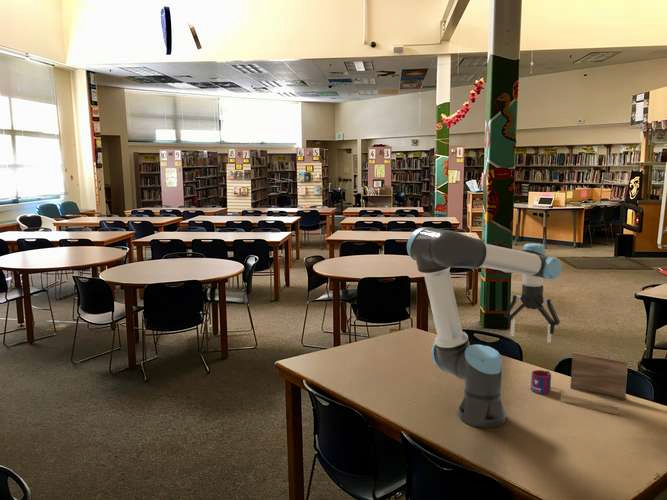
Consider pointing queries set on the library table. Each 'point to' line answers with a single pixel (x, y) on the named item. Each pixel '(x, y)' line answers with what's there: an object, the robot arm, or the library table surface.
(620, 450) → the library table surface
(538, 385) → the mug
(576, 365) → the wall board
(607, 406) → the cleat ledge
